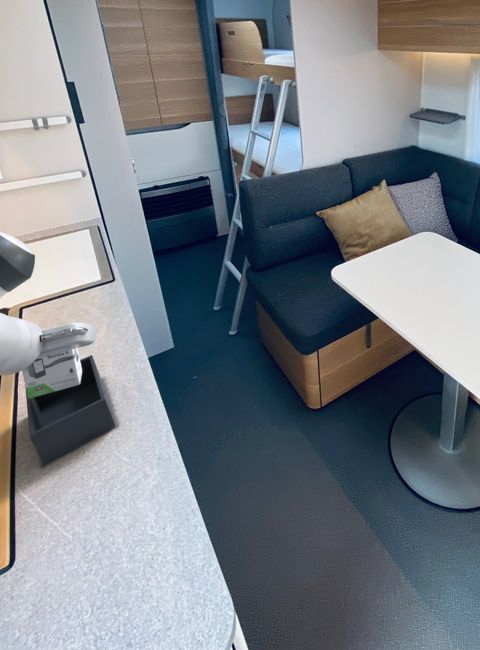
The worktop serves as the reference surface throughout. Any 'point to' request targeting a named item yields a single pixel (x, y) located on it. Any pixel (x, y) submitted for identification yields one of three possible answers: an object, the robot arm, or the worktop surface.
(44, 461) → the bin
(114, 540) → the worktop surface
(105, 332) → the worktop surface
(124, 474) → the worktop surface
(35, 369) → the ink box
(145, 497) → the worktop surface
